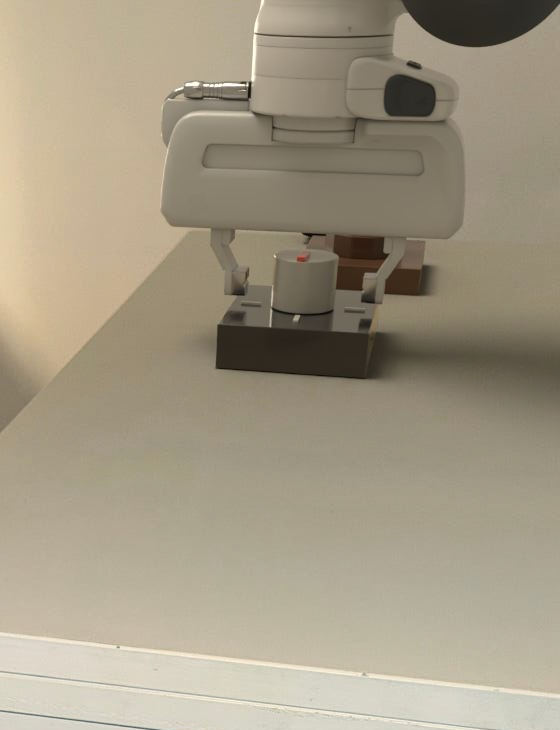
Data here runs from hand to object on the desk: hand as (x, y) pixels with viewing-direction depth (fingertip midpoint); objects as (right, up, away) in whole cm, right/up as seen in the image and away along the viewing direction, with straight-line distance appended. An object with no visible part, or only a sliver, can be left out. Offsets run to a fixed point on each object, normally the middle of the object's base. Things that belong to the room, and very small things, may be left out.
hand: (303, 298), depth 91 cm
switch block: (+9, +7, +22) cm, 25 cm away
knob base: (0, -3, +2) cm, 4 cm away
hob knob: (0, -1, 0) cm, 1 cm away
